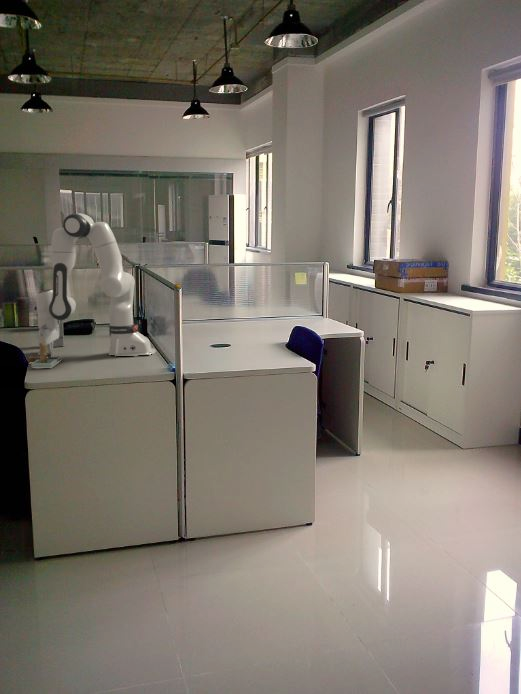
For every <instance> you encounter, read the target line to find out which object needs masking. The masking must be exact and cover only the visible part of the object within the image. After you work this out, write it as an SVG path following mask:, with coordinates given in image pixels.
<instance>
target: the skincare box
mask: <svg viewBox="0 0 521 694" xmlns="http://www.w3.org/2000/svg"><path fill="white" fill-rule="evenodd" d="M64 336H65V335H64V320H60V324H59V338H58V339H56V340H55V341H53V348H60V347H59V346H64V347H65V340H64V339H65V337H64Z"/></svg>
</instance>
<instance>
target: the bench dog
mask: <svg viewBox="0 0 521 694" xmlns="http://www.w3.org/2000/svg"><path fill="white" fill-rule="evenodd" d="M36 360H40V356H38V355H37V356H35V355H34V356H29V357H28V358H27V361H28V362H29V363H30V362H35V361H36ZM29 363H28V364H29Z"/></svg>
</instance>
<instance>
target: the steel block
mask: <svg viewBox="0 0 521 694" xmlns="http://www.w3.org/2000/svg"><path fill="white" fill-rule="evenodd" d="M37 356H40V352H38V353H37ZM51 356H52V357H53V353H52V351H51V352H48V351H47V357H51Z"/></svg>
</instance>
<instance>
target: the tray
mask: <svg viewBox="0 0 521 694" xmlns="http://www.w3.org/2000/svg"><path fill="white" fill-rule="evenodd" d="M47 362H48V363H40V360H36V361H35V362H33V363H31V364H30V365H31V367H52V366H53V365H55V364H56V363H57V359H54V360H47Z"/></svg>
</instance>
